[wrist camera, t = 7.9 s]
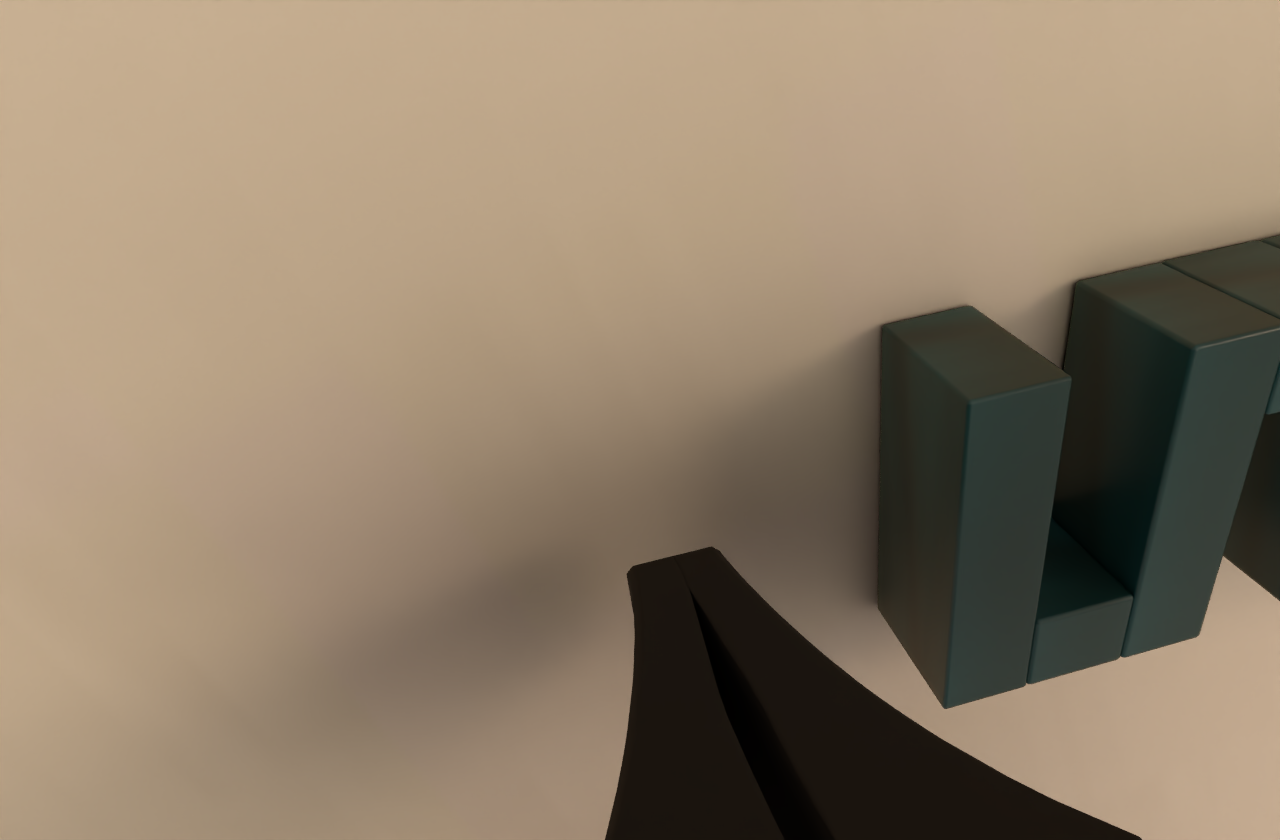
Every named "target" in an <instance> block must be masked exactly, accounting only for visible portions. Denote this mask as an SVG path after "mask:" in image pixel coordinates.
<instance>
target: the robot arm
mask: <svg viewBox="0 0 1280 840" xmlns="http://www.w3.org/2000/svg"><path fill="white" fill-rule="evenodd" d="M627 579H628V585H629V590H630V596H631V602H632V607H633V613H634V628H635V645H634V672H633V686H632V695H631V704H630V713H629V722H628V730H627V737H626V743H625V749H624V755H623V761H622V766H621V772H620V777H619V782H618V787H617V792H616V796H615V800H614V805H613V809H612V813H611V817H610V821H609V826H608V830H607V834H606V838H605V840H1142V839H1141V838H1140V837H1139V836H1136V835H1134V834H1132V833H1129V832H1127V831H1125V830H1122V829H1120V828H1118V827H1115V826H1113V825H1111V824H1108V823H1106V822H1104V821H1101V820H1099V819H1097V818H1095V817H1092V816H1090V815H1088V814H1085V813H1083V812H1081V811H1078V810H1076V809H1074V808H1071V807H1069V806H1067V805H1064V804H1062V803H1060V802H1057V801H1055V800H1053V799H1051V798H1049V797H1047V796H1045V795H1043V794H1041V793H1039V792H1037V791H1035V790H1033V789H1031V788H1029V787H1027V786H1025V785H1023V784H1021V783H1019V782H1017V781H1015V780H1013V779H1011V778H1009V777H1007V776H1006V775H1004V774H1002V773H1000V772H999V771H997V770H995V769H993V768H992V767H990V766H988V765H986V764H985V763H983V762H981V761H979V760H977V759H976V758H974V757H972V756H970V755H969V754H967V753H965V752H963V751H962V750H960V749H958V748H956V747H955V746H953V745H951V744H949V743H948V742H946V741H944V740H942V739H941V738H939V737H938V736H936V735H934V734H933V733H931V732H930V731H928V730H927V729H925V728H924V727H922V726H920V725H919V724H917V723H916V722H914V721H913V720H911V719H910V718H908V717H907V716H905V715H904V714H902V713H901V712H899V711H898V710H896V709H895V708H893V707H892V706H891V705H889V704H888V703H886V702H885V701H883V700H882V699H881V698H879V697H878V696H876V695H875V694H874V693H872V692H871V691H870V690H868V689H867V688H865V687H864V686H863V685H862V684H860V683H859V682H858V681H856V680H855V679H854V678H852V677H851V676H850V675H849V674H847V673H846V672H845V671H844V670H842V669H841V668H840V667H839V666H837V665H836V664H835V663H834V662H832V661H831V660H830V659H829V658H828V657H826V656H825V655H824V654H823V653H822V652H820V651H819V650H818V649H817V648H816V647H815V646H813V645H812V644H811V643H810V642H809V641H808V640H807V639H805V638H804V637H803V636H802V635H801V634H800V633H799V632H798V631H797V630H796V629H794V628H793V627H792V626H791V625H790V624H789V623H788V622H787V621H786V620H785V619H784V618H782V617H781V616H780V615H779V614H778V613H777V612H776V611H775V610H774V609H773V608H772V607H771V606H770V605H769V604H768V603H767V602H766V601H765V600H764V599H763V598H762V597H761V596H760V595H759V594H758V593H757V592H756V591H755V590H754V589H753V588H752V587H751V586H750V585H749V584H748V583H747V582H746V581H745V579H744V578H743V577H742V576H741V575H740V574H739V573H738V572H737V571H736V570H735V569H734V567H733V566H732V565H731V564H730V563H729V562H728V561H727V559H726V558H725V557H724V556H723V555H722V553H721V552H720V551H719V550H717V549H715V548H714V547H708V548H704V549H700V550H696V551H692V552H688V553H684V554H680V555H676V556H671V557H667V558H663V559H659V560H655V561H651V562H647V563H643V564H639V565H635V566H633V567H632V568H631V569H630V570H629V571H628V573H627Z"/></svg>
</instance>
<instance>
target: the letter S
mask: <svg viewBox="0 0 1280 840" xmlns="http://www.w3.org/2000/svg"><path fill="white" fill-rule="evenodd" d="M1222 556H1224V557H1225V558H1227V559H1228V560H1229V561H1230V562H1232V563H1233V564H1234V565H1235V566H1237V567H1238V568H1239V569H1240V570H1242V571H1243V572H1244V573H1245V574H1247V575H1248V576H1249V577H1250V578H1252V579H1253V580H1254V581H1255V582H1257V583H1258V584H1259V585H1260V586H1262V587H1263V588H1264V589H1265V590H1267V591H1268V592H1269V593H1270V594H1272V595H1273V596H1274V597H1275V598H1277V599H1278V600H1279V601H1280V236H1275V237H1271V238H1266V239H1263V240H1261V241H1258V240H1256V241H1251V242H1246V243H1242V244H1237V245H1233V246H1229V247H1224V248H1220V249H1216V250H1211V251H1207V252H1202V253H1198V254H1194V255H1189V256H1185V257H1180V258H1176V259H1172V260H1167V261H1164V262H1162V264H1160V263H1156V264H1152V265H1147V266H1143V267H1138V268H1134V269H1130V270H1125V271H1121V272H1116V273H1112V274H1108V275H1103V276H1099V277H1094V278H1090V279H1086V280H1081V281H1079V282H1077V284H1076V287H1075V294H1074V301H1073V308H1072V315H1071V322H1070V329H1069V336H1068V343H1067V349H1066V356H1065V363H1064V370H1061V369H1060V368H1059V367H1057V366H1056V365H1054V364H1053V363H1052V362H1050V361H1049V360H1047V359H1046V358H1045V357H1043V356H1042V355H1040V354H1039V353H1037V352H1036V351H1035V350H1033V349H1032V348H1030V347H1029V346H1028V345H1026V344H1025V343H1023V342H1022V341H1021V340H1019V339H1018V338H1016V337H1015V336H1014V335H1012V334H1011V333H1009V332H1008V331H1006V330H1005V329H1004V328H1002V327H1001V326H999V325H998V324H997V323H995V322H994V321H992V320H991V319H990V318H988V317H987V316H985V315H984V314H983V313H981V312H980V311H978V310H977V309H975V308H974V307H973V306H965V307H961V308H957V309H952V310H948V311H943V312H939V313H935V314H930V315H926V316H921V317H917V318H913V319H908V320H904V321H899V322H895V323H891V324H886V325H884V326H883V328H882V379H881V437H880V496H879V555H878V610H879V611H880V613H881V614H882V616H883V617H884V619H885V620H886V622H887V623H888V625H889V626H890V628H891V629H892V631H893V632H894V634H895V635H896V637H897V638H898V640H899V641H900V643H901V644H902V646H903V647H904V649H905V651H906V652H907V654H908V655H909V657H910V658H911V660H912V661H913V663H914V664H915V666H916V667H917V669H918V670H919V672H920V673H921V675H922V676H923V678H924V679H925V681H926V682H927V684H928V685H929V687H930V688H931V690H932V691H933V693H934V694H935V696H936V698H937V699H938V701H939V702H940V704H941V705H942V707H943V708H944V709H948V708H951V707H955V706H958V705H962V704H965V703H969V702H972V701H976V700H979V699H983V698H986V697H990V696H993V695H997V694H1000V693H1004V692H1007V691H1011V690H1014V689H1018V688H1021V687H1024V686H1025V685H1026V683H1027V684H1033V683H1037V682H1040V681H1044V680H1047V679H1051V678H1054V677H1058V676H1061V675H1065V674H1068V673H1072V672H1075V671H1079V670H1082V669H1086V668H1090V667H1093V666H1097V665H1100V664H1104V663H1107V662H1111V661H1114V660H1117V659H1118V658H1119V657H1120V656H1121V657H1129V656H1132V655H1136V654H1139V653H1143V652H1146V651H1150V650H1153V649H1157V648H1160V647H1164V646H1167V645H1171V644H1174V643H1178V642H1181V641H1185V640H1188V639H1192V638H1195V637H1197V636H1198V635H1199V634H1200V631H1201V628H1202V624H1203V621H1204V617H1205V614H1206V611H1207V607H1208V604H1209V600H1210V597H1211V594H1212V590H1213V587H1214V584H1215V580H1216V577H1217V573H1218V570H1219V567H1220V563H1221V560H1222Z"/></svg>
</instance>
